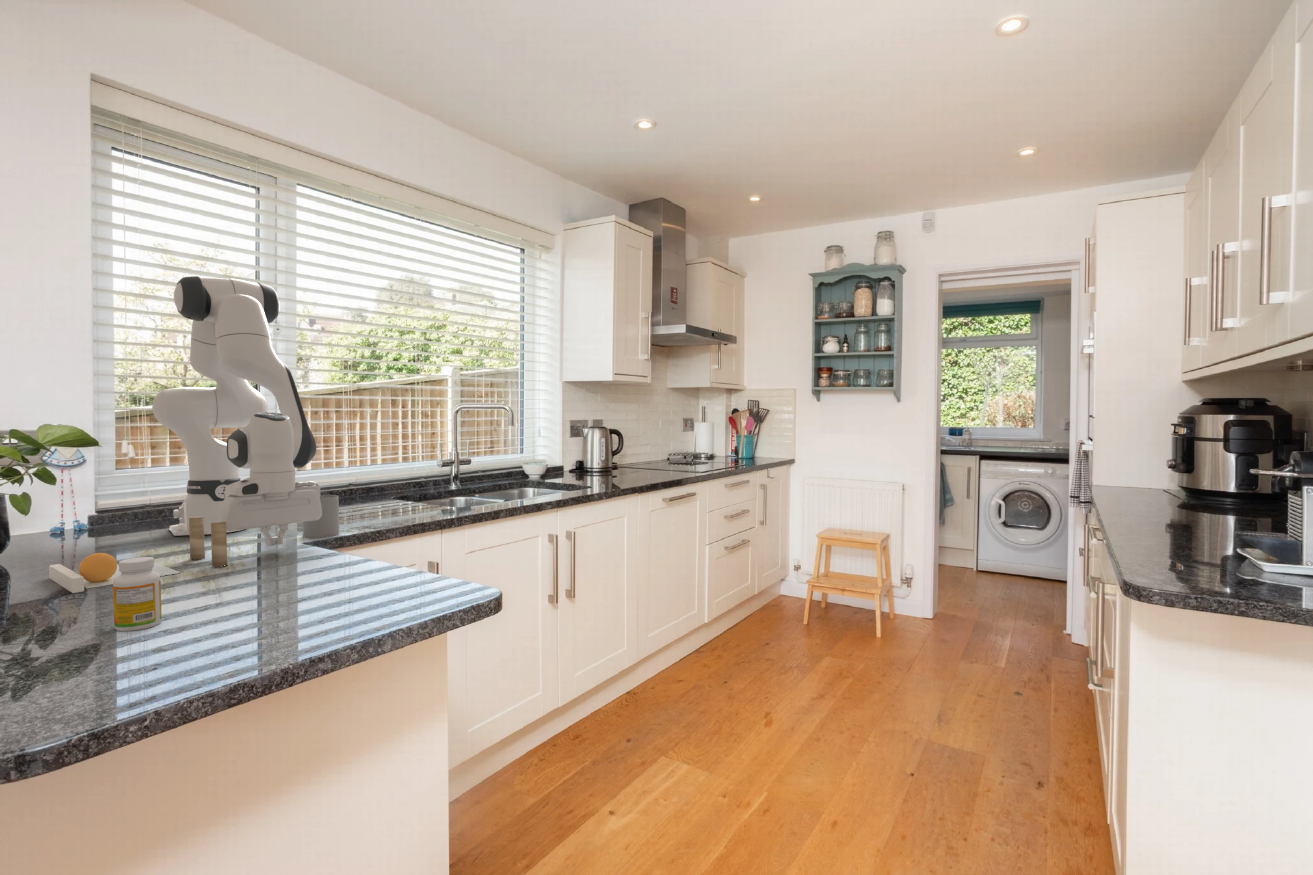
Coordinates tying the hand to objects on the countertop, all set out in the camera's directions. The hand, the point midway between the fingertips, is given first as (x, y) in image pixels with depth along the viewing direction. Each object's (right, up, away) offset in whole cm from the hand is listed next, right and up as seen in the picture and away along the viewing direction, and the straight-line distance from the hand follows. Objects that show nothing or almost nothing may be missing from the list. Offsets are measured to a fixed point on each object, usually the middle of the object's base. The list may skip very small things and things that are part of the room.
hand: (274, 544), depth 146 cm
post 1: (-13, -2, -7) cm, 15 cm away
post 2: (-3, -2, -14) cm, 14 cm away
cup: (-1, -1, +22) cm, 22 cm away
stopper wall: (-22, -3, -28) cm, 36 cm away
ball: (-17, 0, -27) cm, 32 cm away
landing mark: (-16, -2, -21) cm, 27 cm away
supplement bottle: (+11, -3, -53) cm, 54 cm away
